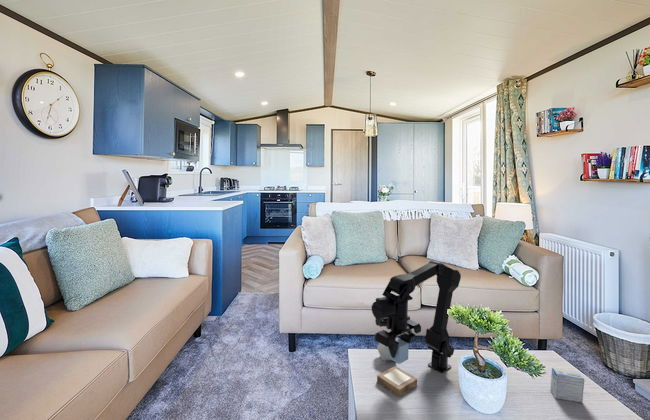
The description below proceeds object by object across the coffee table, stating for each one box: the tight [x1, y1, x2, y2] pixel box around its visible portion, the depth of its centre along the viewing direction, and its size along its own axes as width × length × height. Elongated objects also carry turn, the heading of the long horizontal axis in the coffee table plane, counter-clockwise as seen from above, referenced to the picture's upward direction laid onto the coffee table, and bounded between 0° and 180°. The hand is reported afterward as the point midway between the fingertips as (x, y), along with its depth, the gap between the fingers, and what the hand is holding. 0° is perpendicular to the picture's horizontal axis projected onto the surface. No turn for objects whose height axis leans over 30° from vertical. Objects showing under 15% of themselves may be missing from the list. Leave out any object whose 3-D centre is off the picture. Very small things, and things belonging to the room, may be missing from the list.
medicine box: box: [550, 367, 585, 404], centre depth 107 cm, size 8×4×9 cm, turn 73°
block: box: [388, 337, 410, 365], centre depth 112 cm, size 5×5×6 cm
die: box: [376, 342, 394, 362], centre depth 129 cm, size 8×9×10 cm
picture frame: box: [376, 365, 418, 398], centre depth 113 cm, size 10×10×3 cm
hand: (398, 355), depth 112 cm, fingers closed on block, 5 cm apart
